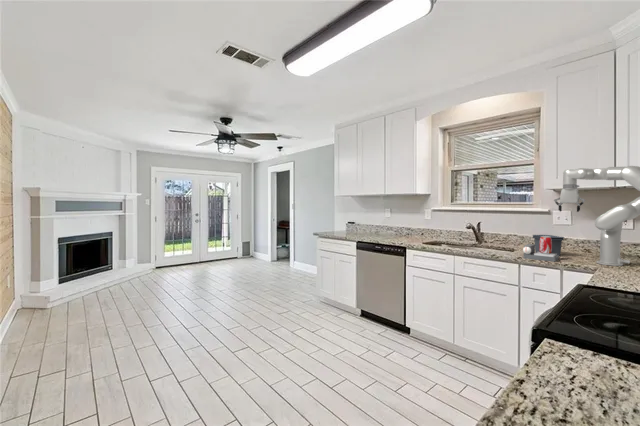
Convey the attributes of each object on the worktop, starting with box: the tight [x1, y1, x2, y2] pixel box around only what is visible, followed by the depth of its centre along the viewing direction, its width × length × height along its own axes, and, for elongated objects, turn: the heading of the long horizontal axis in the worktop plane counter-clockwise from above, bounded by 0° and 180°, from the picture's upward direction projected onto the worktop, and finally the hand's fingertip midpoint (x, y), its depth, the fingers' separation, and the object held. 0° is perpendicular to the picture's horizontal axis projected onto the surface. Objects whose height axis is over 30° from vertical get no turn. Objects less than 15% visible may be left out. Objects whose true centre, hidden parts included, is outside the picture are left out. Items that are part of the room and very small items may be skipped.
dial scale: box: [522, 243, 560, 263], centre depth 218 cm, size 18×13×9 cm
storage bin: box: [532, 234, 565, 257], centre depth 235 cm, size 21×16×14 cm
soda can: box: [539, 236, 552, 254], centre depth 216 cm, size 7×7×12 cm
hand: (569, 211), depth 218 cm, fingers open, 9 cm apart
